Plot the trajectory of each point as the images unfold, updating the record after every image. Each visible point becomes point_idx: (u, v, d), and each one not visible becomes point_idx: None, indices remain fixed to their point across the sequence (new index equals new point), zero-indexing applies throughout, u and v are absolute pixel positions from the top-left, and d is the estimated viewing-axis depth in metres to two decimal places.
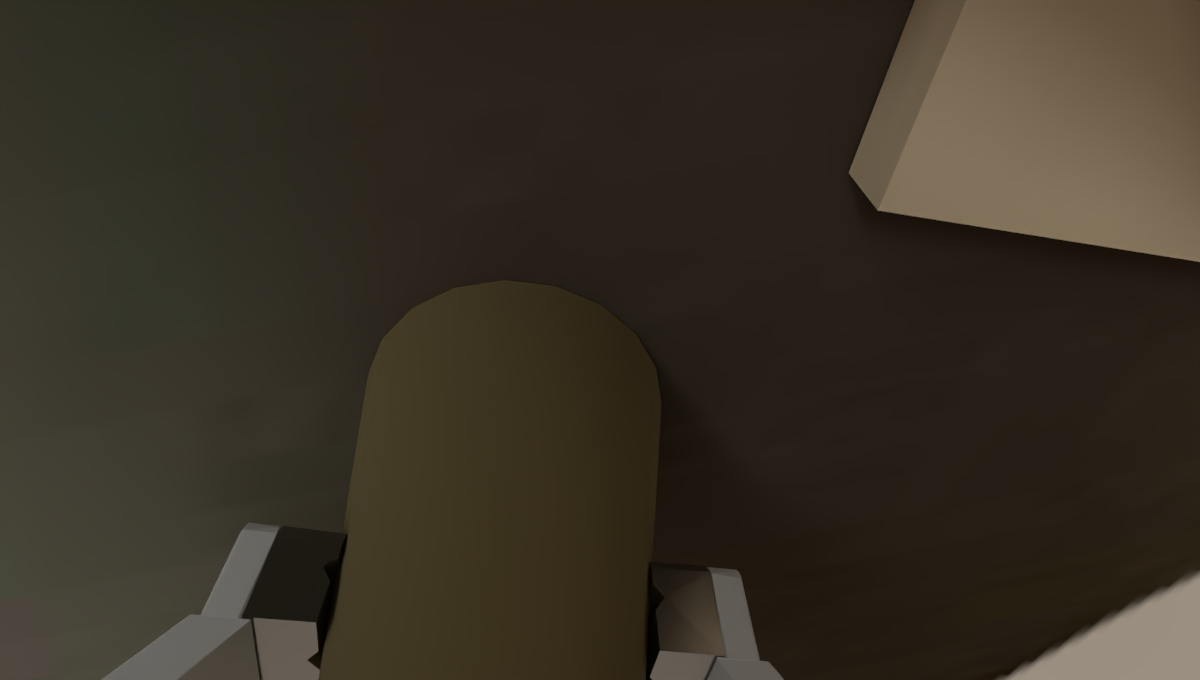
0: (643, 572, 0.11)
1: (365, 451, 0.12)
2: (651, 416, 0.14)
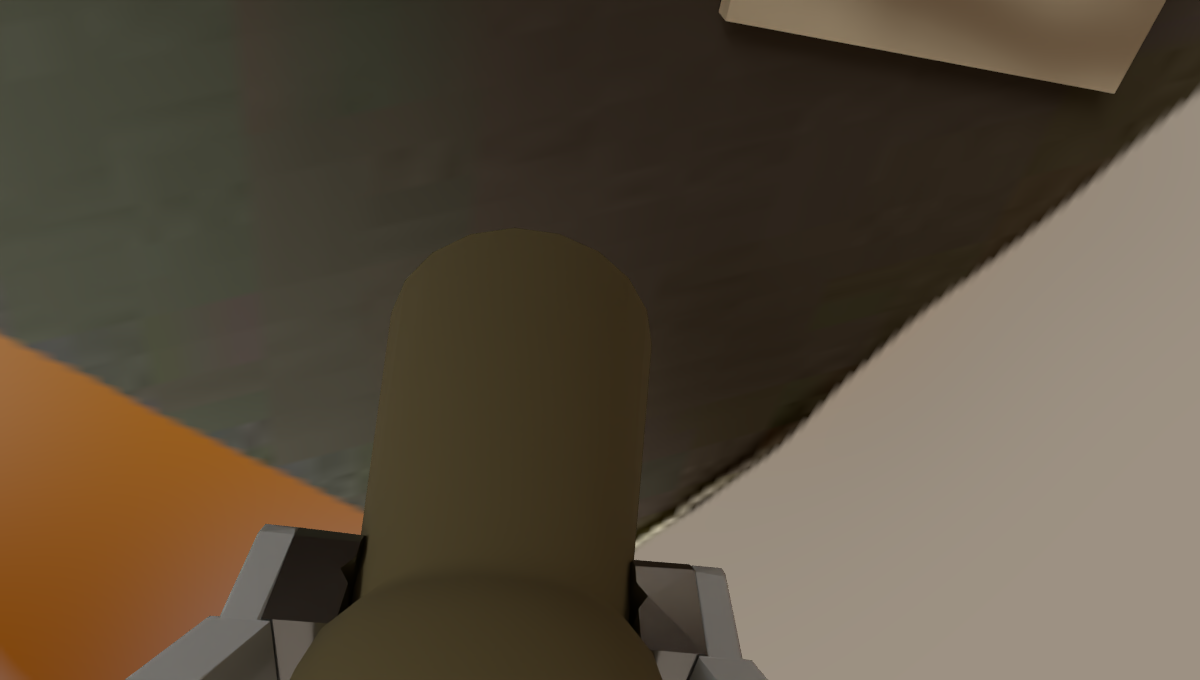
0: (633, 468, 0.13)
1: (394, 368, 0.14)
2: (642, 349, 0.16)
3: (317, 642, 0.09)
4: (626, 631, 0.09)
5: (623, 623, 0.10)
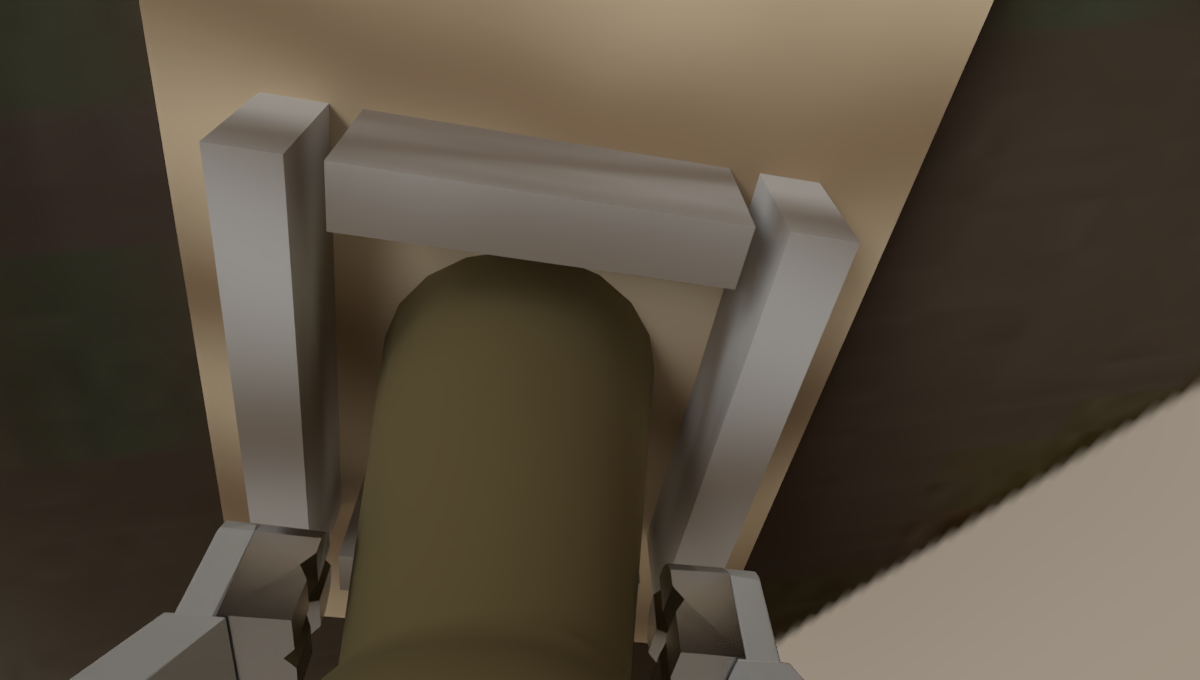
0: (636, 507, 0.12)
1: (386, 400, 0.13)
2: (644, 377, 0.15)
3: None
4: None
5: None
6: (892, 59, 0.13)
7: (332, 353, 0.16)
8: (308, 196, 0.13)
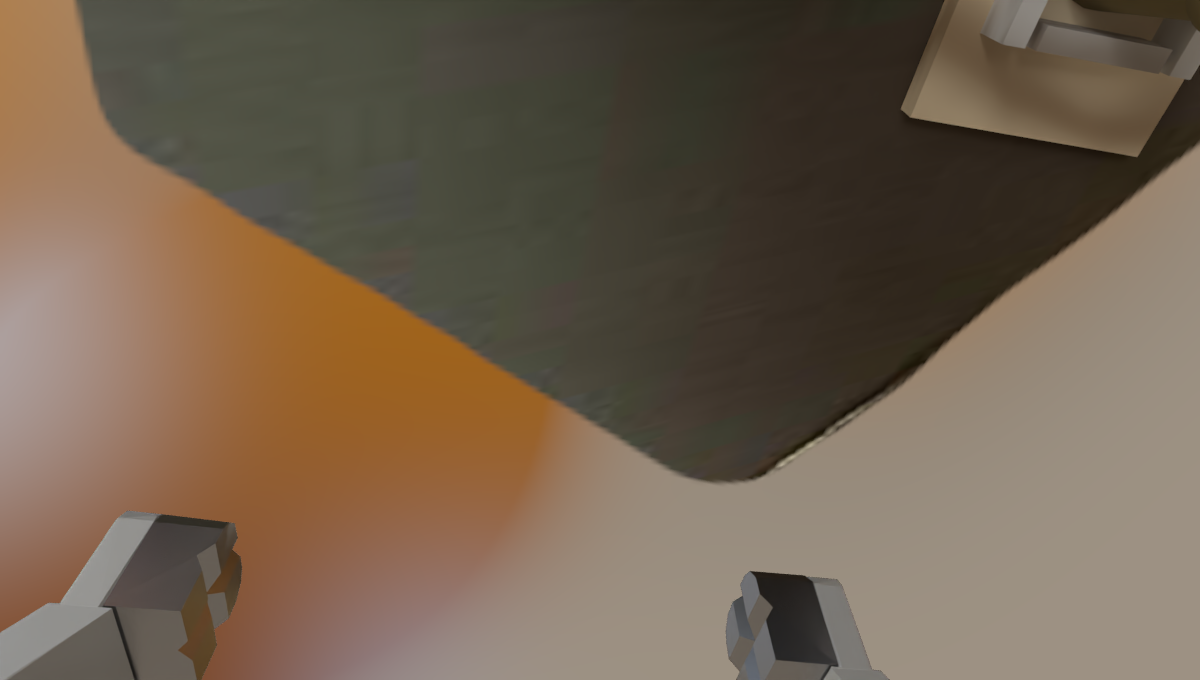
0: None
1: None
2: None
3: None
4: None
5: None
6: None
7: None
8: None
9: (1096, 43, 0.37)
